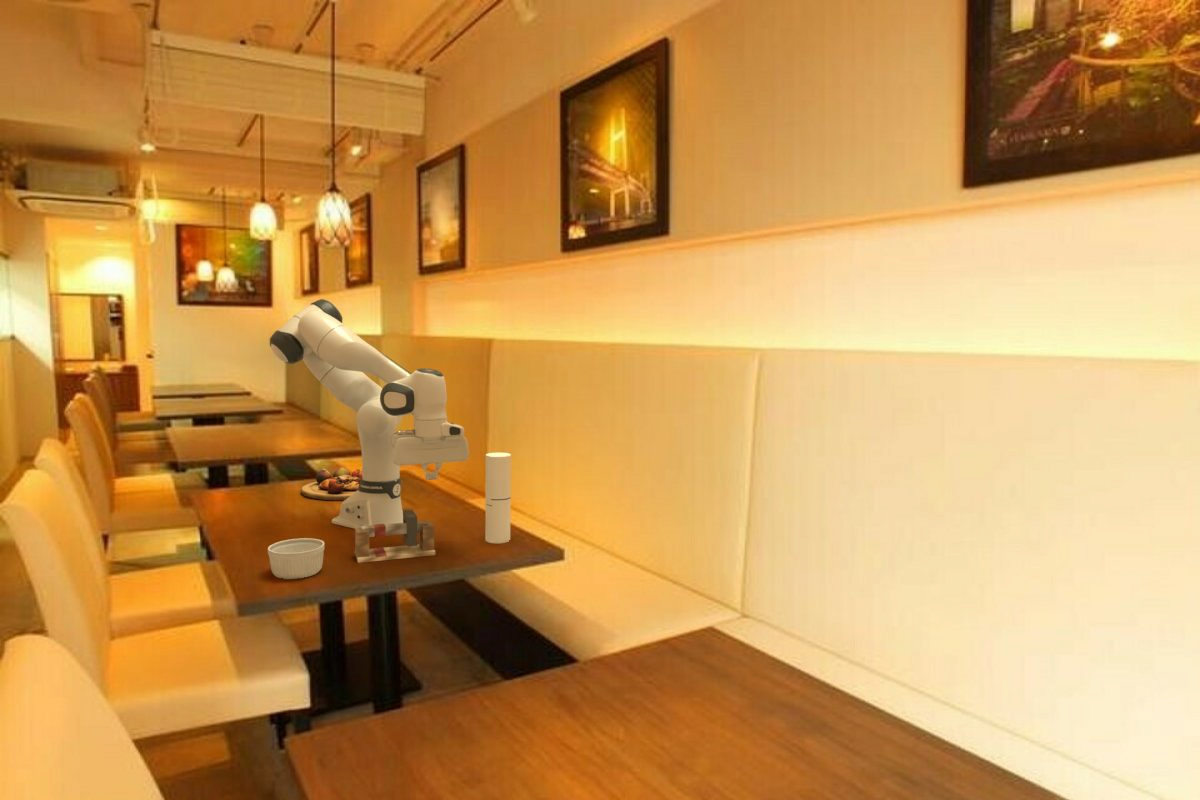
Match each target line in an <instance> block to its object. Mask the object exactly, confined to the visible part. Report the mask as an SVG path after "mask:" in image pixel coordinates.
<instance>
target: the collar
mask: <svg viewBox="0 0 1200 800" xmlns="http://www.w3.org/2000/svg"><path fill="white" fill-rule="evenodd" d="M402 511H403V523H407V534H402V539H403V541H404V543H405V545H407V546H408V547H411V546H417V544H418V533H417V522H418V515H417V514H416V513H415V511H414V510H413V509H402Z"/></svg>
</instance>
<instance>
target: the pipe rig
mask: <svg viewBox="0 0 1200 800" xmlns="http://www.w3.org/2000/svg"><path fill="white" fill-rule="evenodd" d="M418 533H419V544H418V543H417V546H411V547H408V546H407V544H405V545H398V546H396V545H395V546H387V547H385V546H384V547H383V546H382V547H381V546H380V547H373V548H370V538H372V537H374V538H380V537H387V536H396V535H403V534H407V523H396V524H376V525H372V526H361V527H359V528H355V529H354V536H355V537H354V539H355V540H354V541H355V542H354V543H355V544H354V546H355V547H354V548H355V550H354V556H355V559H356V561H357V563H358V564H359V563H360V564H361V563H368V562H369V563H371V562H378V561H388V560H399V559H407V558H409V559H410V558H419V557H427V556H436V550H435V525H434V523H432V521H427V520H422V521H419V520H418V521H417V534H418Z"/></svg>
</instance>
